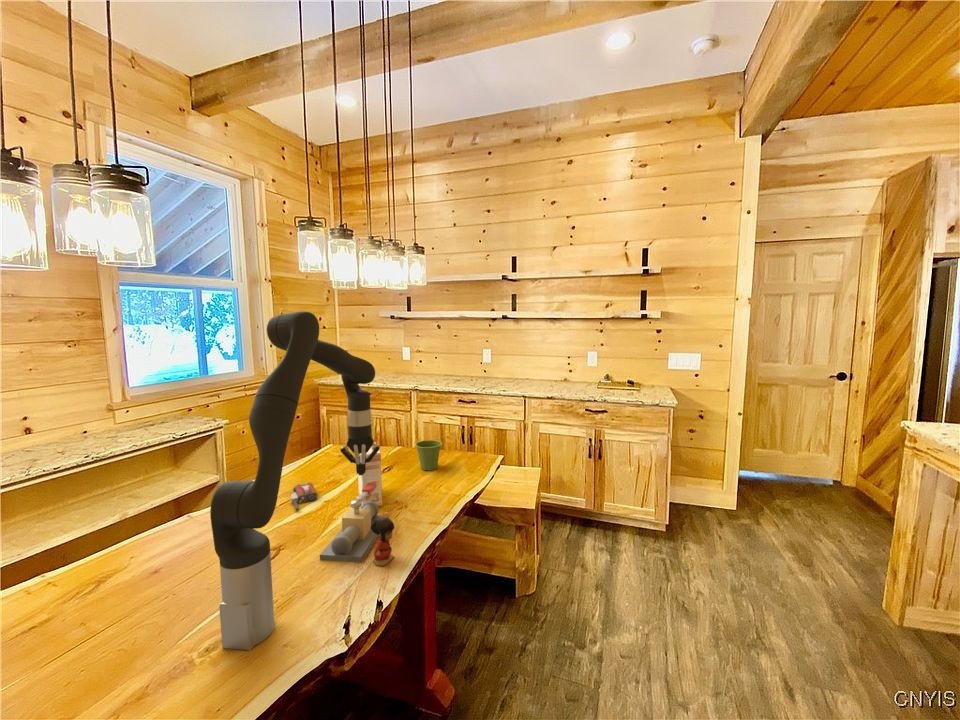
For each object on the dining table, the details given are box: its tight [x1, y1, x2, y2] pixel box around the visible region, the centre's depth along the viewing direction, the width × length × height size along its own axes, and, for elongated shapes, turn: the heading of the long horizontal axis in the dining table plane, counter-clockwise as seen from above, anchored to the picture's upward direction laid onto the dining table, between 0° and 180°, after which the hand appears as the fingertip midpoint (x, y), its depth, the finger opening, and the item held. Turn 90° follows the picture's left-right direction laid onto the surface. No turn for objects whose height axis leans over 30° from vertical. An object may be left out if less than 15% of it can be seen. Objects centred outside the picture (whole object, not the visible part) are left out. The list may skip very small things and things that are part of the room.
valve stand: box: [319, 501, 390, 563], centre depth 126 cm, size 24×12×10 cm, turn 175°
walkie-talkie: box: [290, 482, 318, 511], centre depth 153 cm, size 9×4×20 cm
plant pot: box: [414, 439, 443, 471], centre depth 184 cm, size 12×12×11 cm
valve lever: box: [350, 482, 376, 508], centre depth 131 cm, size 16×3×2 cm, turn 175°
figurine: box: [371, 517, 395, 567], centre depth 114 cm, size 6×6×12 cm
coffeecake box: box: [357, 441, 383, 507], centre depth 153 cm, size 15×7×20 cm, turn 22°
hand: (361, 474), depth 136 cm, fingers closed
